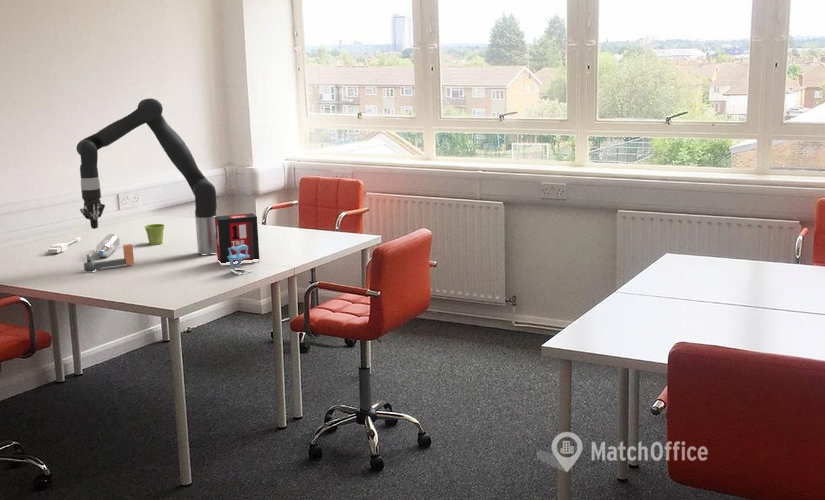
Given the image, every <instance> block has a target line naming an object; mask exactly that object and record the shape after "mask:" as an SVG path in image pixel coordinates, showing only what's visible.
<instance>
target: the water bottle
mask: <svg viewBox="0 0 825 500" xmlns="http://www.w3.org/2000/svg"><path fill="white" fill-rule="evenodd" d="M119 245H120V238H119V236H118V235H117V234H115V233H110V234H109V233H108V234H107V235H106V236H104V238H103V239H102V240H101V241H100V242H99V243H98V244H97V245H96V247H95V250H94V251H95V254H96V255H97V257H99V258H102V259H106V258H108V257H109V256H110V255H111V254H112V253H113V252H114V251H115V250H116V248H118V246H119Z"/></svg>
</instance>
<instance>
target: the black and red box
mask: <svg viewBox="0 0 825 500" xmlns="http://www.w3.org/2000/svg"><path fill="white" fill-rule="evenodd" d="M215 228H216V242H217V254H216V255H217V261H218V260H219V261H220V262H221V263H226V262H229V259H228V257H227V256H229V254H230V253H229V250H228V248H231V247H232V246H236V247H238V246H239V245H241V244H244V245H246V246H248V251H247V254H248V255H250V257H249V258H244V259H242V261H243V260H253V259H259V260H260V246H259V243H260V242H259V230H258V229H259V228H258V217H257V215H256V214H254V213H253V212H252V213H251V212H250V213H242V214H241V213H239V214H231V215H230V214H229V215H218V216H217V215H216V216H215ZM230 251H231V253H232V255H235V254H237V252H236V251H235V250H233V249H231V250H230ZM245 252H246V250H241V251H240V253H241V254H245ZM245 255H246V254H245ZM235 261H239V260H233V262H235Z"/></svg>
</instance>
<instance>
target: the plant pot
mask: <svg viewBox="0 0 825 500" xmlns="http://www.w3.org/2000/svg"><path fill="white" fill-rule="evenodd" d="M165 226H166V225H165V224H163V223H162V224H161V223H153V224H152V223H151V224H148V225H145V226H143V228H144V229H145V231H146V234H147V235H146V236H147V239H148V244H149V245H151V246H154V245H155V246H157V245H161V244H163V242H164V241H163V240H164V230H165Z"/></svg>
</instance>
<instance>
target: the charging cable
mask: <svg viewBox="0 0 825 500" xmlns="http://www.w3.org/2000/svg"><path fill="white" fill-rule="evenodd" d="M81 239H82V238H81V237H74V238H73V239H72V240H71V241H69V242H68V243H67V242H62V243H61V242H58V243H55V244H52V245H50V247H49V248H47V253H48V254H63V253H64V252H66V251H67V250H68V245H71V244H72V243H75V242H77V241H79V242H80V241H81ZM77 243H78V242H77ZM65 250H66V251H65Z"/></svg>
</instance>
